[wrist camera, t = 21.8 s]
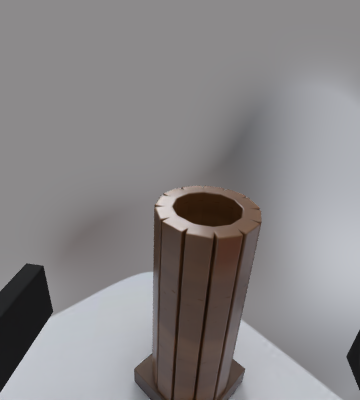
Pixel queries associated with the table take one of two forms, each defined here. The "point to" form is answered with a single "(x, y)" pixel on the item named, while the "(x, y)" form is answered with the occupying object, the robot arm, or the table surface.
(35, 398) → the table surface
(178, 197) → the brown wooden hollow cylinder
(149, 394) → the peg stand
